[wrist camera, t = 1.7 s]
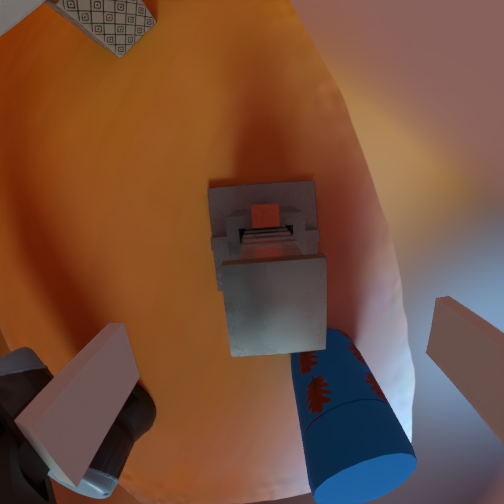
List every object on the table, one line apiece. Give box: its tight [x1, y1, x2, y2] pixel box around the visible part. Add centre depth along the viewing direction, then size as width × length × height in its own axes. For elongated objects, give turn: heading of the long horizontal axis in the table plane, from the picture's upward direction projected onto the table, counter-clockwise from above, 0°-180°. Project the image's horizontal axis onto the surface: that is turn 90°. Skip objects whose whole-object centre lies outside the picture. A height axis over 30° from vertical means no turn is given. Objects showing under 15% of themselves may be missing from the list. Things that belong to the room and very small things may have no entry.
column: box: [220, 225, 327, 357], centre depth 26 cm, size 5×5×23 cm
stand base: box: [208, 181, 320, 291], centre depth 32 cm, size 14×14×13 cm
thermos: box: [291, 329, 417, 504], centre depth 30 cm, size 11×11×25 cm
